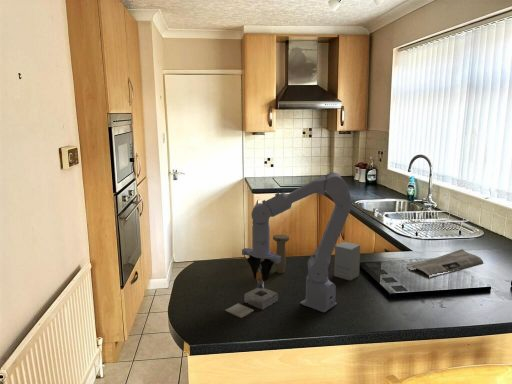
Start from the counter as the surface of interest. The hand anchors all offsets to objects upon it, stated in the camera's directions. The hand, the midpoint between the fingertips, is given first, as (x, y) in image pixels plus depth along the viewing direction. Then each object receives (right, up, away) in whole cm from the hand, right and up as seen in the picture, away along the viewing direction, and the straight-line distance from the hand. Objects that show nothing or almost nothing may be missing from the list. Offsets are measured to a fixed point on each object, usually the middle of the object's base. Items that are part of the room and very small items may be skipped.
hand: (261, 278), depth 131 cm
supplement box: (+34, -4, +23) cm, 41 cm away
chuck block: (0, -8, +2) cm, 8 cm away
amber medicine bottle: (0, -3, 0) cm, 3 cm away
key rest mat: (-7, -9, -5) cm, 13 cm away
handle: (+8, -4, +27) cm, 29 cm away
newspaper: (+78, -3, +34) cm, 85 cm away
